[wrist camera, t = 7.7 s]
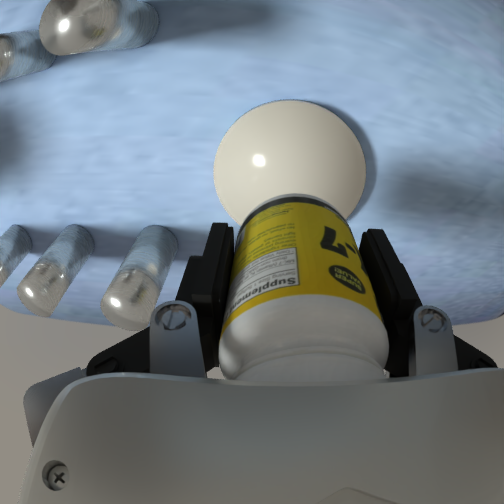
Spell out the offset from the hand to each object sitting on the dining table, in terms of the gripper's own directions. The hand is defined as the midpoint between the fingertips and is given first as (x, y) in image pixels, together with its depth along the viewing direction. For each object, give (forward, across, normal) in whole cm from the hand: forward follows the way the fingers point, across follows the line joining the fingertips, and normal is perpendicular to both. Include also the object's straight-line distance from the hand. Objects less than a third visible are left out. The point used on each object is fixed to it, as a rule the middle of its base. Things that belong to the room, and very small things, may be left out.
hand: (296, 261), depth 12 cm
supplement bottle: (+2, 0, 0) cm, 2 cm away
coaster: (+9, 0, 0) cm, 9 cm away
